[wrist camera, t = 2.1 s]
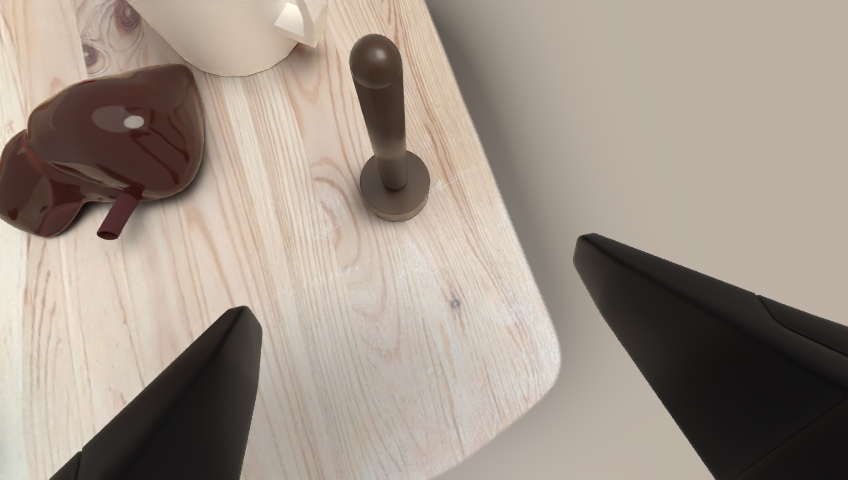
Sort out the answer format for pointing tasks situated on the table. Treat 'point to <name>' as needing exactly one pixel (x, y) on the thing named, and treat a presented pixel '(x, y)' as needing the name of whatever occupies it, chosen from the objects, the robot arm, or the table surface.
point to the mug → (235, 30)
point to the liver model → (103, 149)
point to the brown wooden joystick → (386, 132)
